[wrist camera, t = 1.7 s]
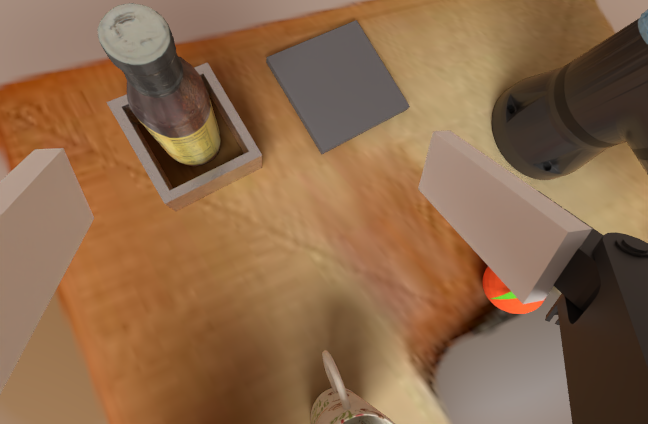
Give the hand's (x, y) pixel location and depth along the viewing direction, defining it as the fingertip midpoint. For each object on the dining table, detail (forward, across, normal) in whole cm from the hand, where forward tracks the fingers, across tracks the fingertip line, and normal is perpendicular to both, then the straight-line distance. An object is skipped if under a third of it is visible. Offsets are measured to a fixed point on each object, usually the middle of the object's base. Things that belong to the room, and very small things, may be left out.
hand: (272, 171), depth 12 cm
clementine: (+12, +29, -26) cm, 41 cm away
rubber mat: (+32, +12, -5) cm, 35 cm away
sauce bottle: (+28, -6, -11) cm, 30 cm away
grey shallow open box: (+27, -6, -11) cm, 30 cm away
